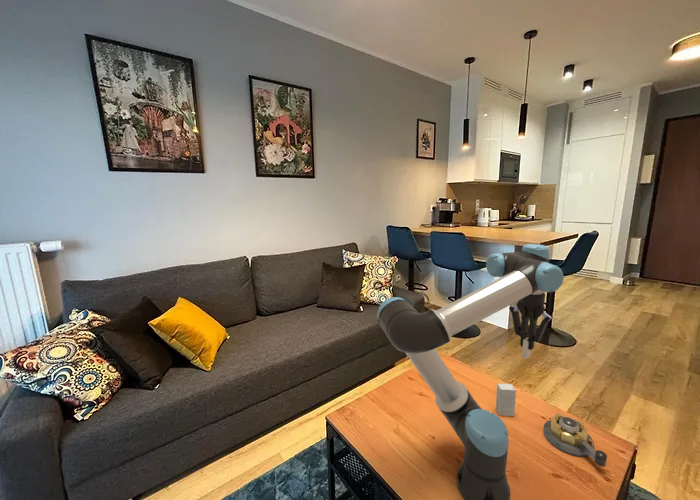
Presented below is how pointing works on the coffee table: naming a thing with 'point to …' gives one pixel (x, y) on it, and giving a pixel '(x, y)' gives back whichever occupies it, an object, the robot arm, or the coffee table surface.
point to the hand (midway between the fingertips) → (526, 356)
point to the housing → (571, 428)
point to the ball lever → (577, 440)
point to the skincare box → (505, 399)
